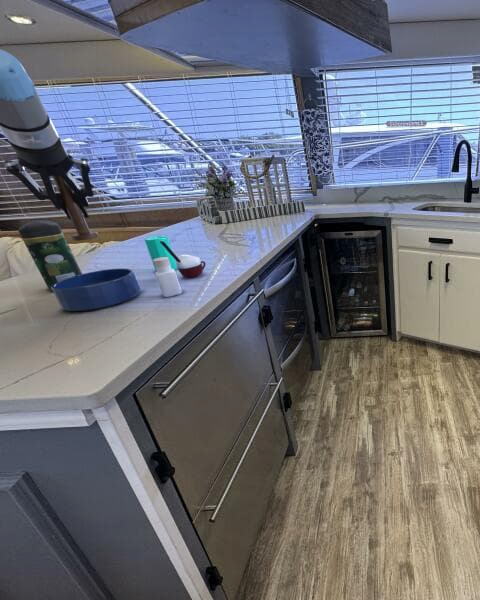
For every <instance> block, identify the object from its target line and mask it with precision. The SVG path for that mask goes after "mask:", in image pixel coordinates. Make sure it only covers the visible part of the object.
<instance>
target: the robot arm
mask: <svg viewBox="0 0 480 600" xmlns="http://www.w3.org/2000/svg"><path fill="white" fill-rule="evenodd" d="M0 131H1V133H2V134H3V135H4V137H5V139H7V141H8V143H9V145H10V146H11V148H12V149H13V151H14V152H15V154H16V156H17V157H16V160H13V161H12V160H10V159H9V160H8V159H6V160H4V165H5V168H6V171H7V172H8V173H9V174H11V175H12V176H14V177H16V178H18V180H19V181H20V182H21V183H22V184H23V185H24V186H25V187H26V188H27V189H28V190H29V191H30V192H31V193H32V194H33V195H34V196H35V198H37V200H39V201H43V202H44V201H46V200H49V201H50V202H51V203H52V204H53V206H54V208H55V209H57V210H62V211H63V212H64V214H65V215H66V217H67V219H68V221H69V220H71V218H70V215H69V213H68V211H67V209H66V206H65V204H64V202H63V199H62V197H61V195H60V193H59V192H56V189H55V188H54V185H53V182H52V180H51V177H52V176H54V175H56V176H61V178H62V179H63V180H65V182H66V183H67V184H68V186H69V187H70V188H71V189H72V191H73V193H74V197H75V200H76V202H77V204H78V206H79V207H80V209H81V212H82V214H83V217H84V219H88V218H90V216H89V212H88V210H87V208H88V207H89V206H90V203H89V200H88V198H87V197H90V198H92V197H94V191H93V187H92V182H91V179H90V175H89V173H90V171H91V165H90V163H89V160H88V159H87V158H85V157H84V158H80V159H77V158H74V157H73V156H72V155H71V154H69V152H68V151H67V150H66V148H65V146H64V144H63V142H62V140H61V138H60V137H59V134H58V132H57V130H56V127H55V125H54V124H53V122H52V119H51V118H50V116H49V115H48V112H47V110H46V108H45V106H44V104H43V101H42V100H41V98H40V95H39V94H38V91H37V90H36V87H35V84H34V81H33V80H32V79H31V77H30V76H29V75H28V73H27V72H26V69H25V68H24V66H23V65H22V62H21V61H19V60H18V59H17V58H16V57H15V56H14V55H13V54H11V53H9V52H7V51H5V50H3V49H0ZM73 166H75V167H76V170H78V171H79V172H80V176H81V179H82V184H83V187H84V188H82V187H81V186H80V185H79V183H78V182H77V180H76V179H75V178H74V176H73V175H72V174H71V172H70V171H71V169H72V168H73ZM26 169H28V170H30V171H32V172H34V173H36V174H38V175H39V176H40V179H41V181H42V183H43V185H44V188H45V190H43V189H42V188H41V186H40V185H39V184H38V183H37V182H36V181H35V180H34V178H33V177H31V175H30V174H29V173H28V172H27V171H26Z"/></svg>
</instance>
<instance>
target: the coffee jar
mask: <svg viewBox="0 0 480 600" xmlns="http://www.w3.org/2000/svg"><path fill="white" fill-rule="evenodd" d="M17 231H18V233H19V235H20V238H21V240H22V241H23V243H24V245H25V247H26V249H27V251H28V253H29V255H30V257H31V258H32V260H33V263H34V264H35V266H36V268H37V270H38V271H39V273H40V275H41V277H42V279H43V281H44V283H45V285H46V287H47V288H48V290H49V291H52V292H53V290H52V288H51V286H52V285H53V284H54V283H56V282H58V281H61V280H63V279H66V278H69V277H73V276H76V275H80V274H83V272H82V270H81V268H80V267H79V264H78V262H77V260H76V258H75V256H74V254H73V252H72V250H71V247H70V245H69V243H68V241H67V239H66V237H65V235H64V232H63V230H62V228H61V227H60V225H59V224H58V223H57V222H55V221H50V220H48V219H47V220H46V219H45V220H44V219H43V220H42V219H41V220H32V221H28V222H27V223H26V224H24V225H21V226H20V227H19V228H18V229H17Z"/></svg>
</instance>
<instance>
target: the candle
mask: <svg viewBox="0 0 480 600" xmlns="http://www.w3.org/2000/svg"><path fill="white" fill-rule="evenodd" d="M153 235H154V236H152V237H149V238H145V239H144V242H145V245H146V248H147V251H148V253H149V256H150V259H151V261H152V265H153V267H154V271H155V272H157V270H156V268H155V265H154V263H153V260H154V259H156V258H162V257H167V258H168V259H169V262H170V266H171V269H174V270H175V271H176V270H177V269H178V267H177V265H176V262H175V261H176V260H175V259H174V258H173V257H172V255H171V254H170V253H169V252H168V251H167V250H166V249H165V247H164V246H163V245H162V244H161V243H160V241H163V242H165V244H166V245H167V246H168V247H169V248H170V249H171V250H172V246H171V244H170V241H169V237H168V236H165V235H158V236H156V233H155V232H154V233H153ZM172 251H173V250H172Z"/></svg>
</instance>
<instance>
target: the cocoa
mask: <svg viewBox="0 0 480 600" xmlns="http://www.w3.org/2000/svg"><path fill="white" fill-rule="evenodd" d="M160 243H161V244H162V245H163V246H164V247H165V249H166V250H167V251H168V252H169V253H170V254H171V255H172V257H173V258H174V259H175V262H176V265H177V269H178V272H179V273H180V275H181V276H182V277H184V278H185V279H195V278H198V277H200V276H201V275H202V274H203V272H204V270H205V267H206V262H205V261H204V260H201V258H200V257H199V256H194V255H189V254H181V255H179V256H177V255H176V254H175V252H173V250H171V249H172V248H171V249H170V248H169V247H168V246H167V245H166V244H165V242H163V241H160Z"/></svg>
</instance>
